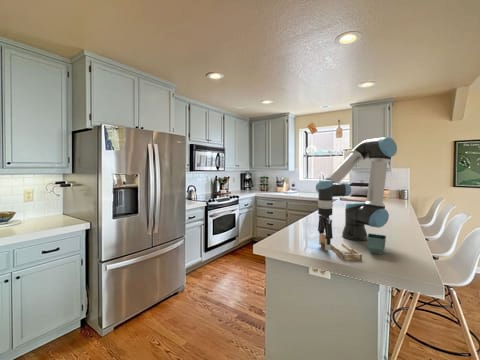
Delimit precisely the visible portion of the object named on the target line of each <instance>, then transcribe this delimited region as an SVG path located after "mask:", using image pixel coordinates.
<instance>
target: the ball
mask: <svg viewBox="0 0 480 360" xmlns="http://www.w3.org/2000/svg"><path fill="white" fill-rule="evenodd" d="M325 237H326V234H324V235H322V236H321V237H320V241H321V242H322V243H323V244H325Z"/></svg>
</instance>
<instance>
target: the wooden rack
mask: <svg viewBox="0 0 480 360" xmlns="http://www.w3.org/2000/svg"><path fill="white" fill-rule="evenodd" d="M351 249H352V254H344V253H343V252H342V251H341V250H339V249H336V252H335V253H336V255H337V256H338V257H339V258H341V259H342V261H363V254H362V253H360V251H358V250H356V249H354V248H351Z"/></svg>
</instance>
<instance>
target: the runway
mask: <svg viewBox="0 0 480 360" xmlns="http://www.w3.org/2000/svg"><path fill="white" fill-rule="evenodd" d="M336 249H339V250H341V251H342V252H343V253H344V254H352V249H353V248H351V247H349V246H348V245H347V244H345V243H344V242H341V244H337V245H335V244H333V243H331V248H330V250H332V251H334V252H335V253H336Z"/></svg>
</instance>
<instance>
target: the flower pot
mask: <svg viewBox="0 0 480 360" xmlns="http://www.w3.org/2000/svg"><path fill="white" fill-rule="evenodd" d="M386 239H387V235H383V234H377V233H368V232H367V240H366V242H367V249H368V250H369V253H371V254H376V255H377V254H378V255H381V254H382V255H383V253H384V250H385V249H386V248H385V247H386V241H387V240H386Z"/></svg>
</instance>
